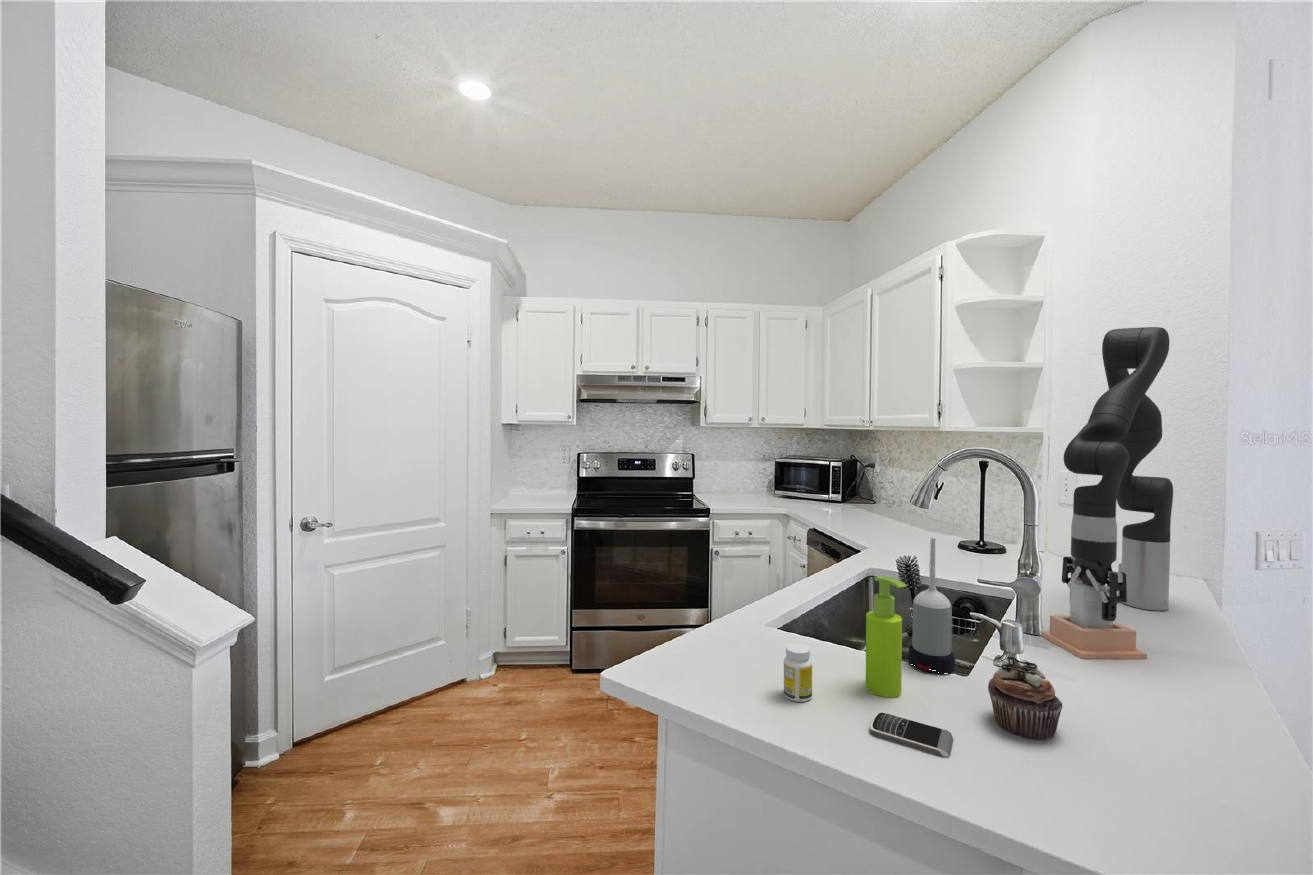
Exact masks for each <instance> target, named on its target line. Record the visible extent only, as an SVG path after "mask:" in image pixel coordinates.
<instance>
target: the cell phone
mask: <svg viewBox="0 0 1313 875" xmlns="http://www.w3.org/2000/svg"><path fill="white" fill-rule="evenodd" d="M869 727H870V734H872V736H875V737H877V738H879V739H884V740H887V741H891V742H894V743H897V744H900V745H904V746H907V747H910V748H912V749H913V748H914V749H917V750H921V751H923V752H926V753H930V754H934V755H936V756H940V757H944V758H948V757H951V755H952V754H951V753H952V749H953V745H954V737H953V735H952V732H950V731H949V730H947V729H943V728H940V727H936V726H934V725H929V724H926V723H922V722H918V721H915V720H911V719H908V718H904V717H901V716H897V715H894V714H889V713H885V712H877V713H876V714H875V715H874V716H873V718H872V719H871V721H870V724H869Z"/></svg>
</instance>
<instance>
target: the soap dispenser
mask: <svg viewBox="0 0 1313 875" xmlns="http://www.w3.org/2000/svg"><path fill="white" fill-rule="evenodd" d="M874 581H876V582H879V583H878V584H879V585H878V586H879V587H878V588H879V590H878V593H876V594H874V596H873V610H870V611H868V612H866V614H865V615H866V616H865V619H866V620H865V684H864V685H865V689H866V690H867V691H868V692H869V693H871V694H873V695H875V696H879V697H881V698H882V697H883V698H896V697H899V696H900V695H901V694H902V675H903V674H902V671H903V670H902V667H903V666H902V664H903V662H902V661H903V660H902V659H903V657H902V656H903V649H902V648H903V617H902V616H901V615H899V614H897V613H895V607H896V606H895V603H896V602H895V600H896V598H895V596H893V595H892V594H891V593H890V592H891V591H890V589H891V588H890V586H893V587H895V588H897V589H898V590H899V589H904V588H906V587H908V584H906V583H905V582H902V581H901V580H899V579H897V578H894V577H891V576H884V575H879V576H874Z"/></svg>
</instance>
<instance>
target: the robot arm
mask: <svg viewBox="0 0 1313 875" xmlns="http://www.w3.org/2000/svg"><path fill="white" fill-rule="evenodd" d="M1169 352H1170V335H1169V332H1168V331H1167V330H1166V329H1165V328H1164V327H1162V326H1161V327H1159V326H1158V327H1157V326H1147V327H1146V326H1145V327H1143V326H1141V327H1125V328H1123V327H1121V328H1114V329H1111V330H1108V331H1107V332H1106V333H1105V335H1104V337H1103V340H1102V344H1101V353H1102V361H1103V367H1104V372H1105V377H1106V381H1107V382H1106V383H1107V386H1108V390H1106V391H1105V392H1104V393H1103V394H1101V396H1100V397H1099V398H1098V399H1097V400H1096V401H1095V403H1094V405H1093V408H1092V411H1091V414H1090V415H1089V418H1088V420H1087V423H1086V424H1085V425H1084V426H1083V427H1082V428H1081V429H1080V430H1079V432H1078V433H1077V434H1076V435H1075V436H1074V437H1073V439H1071V441H1070V442H1069V443H1068V444H1067V446H1066V448H1065V450H1064V452H1063V458H1062V460H1063V463H1064V464H1063V465H1064V466H1065V468H1066V469H1067V470H1068V471H1069V472H1071V473H1073V474H1077V475H1087V476H1089V475H1090V476H1091V475H1092V476H1101V479H1100V481H1099V482H1098V483H1097V484H1093V485H1083V486H1082V485H1081V486H1078V487H1076V488H1074V491H1073V504H1072V505H1073V507H1072V508H1073V509H1072V512H1073V513H1072V519H1071V527H1070V528H1071V529H1070V555H1071V556H1063V558H1062V571H1061V582H1062V583H1063V584H1066V585H1067V587H1068V589H1070V583H1088V584H1089V585H1091V586H1093V587H1094V588H1095V590H1096V591H1097V592H1098V593H1099V594H1100V596H1101V598H1102V600H1103V602H1102V619H1103V620H1105V621H1114V622H1115V620H1116V619H1117V605H1118V604H1119V603H1120V604H1121V603H1122V604H1124V605H1126V606H1129V607H1134V608H1137V609H1141V610H1142V609H1143V610H1148V611H1159V612H1160V611H1161V612H1162V611H1163V612H1164V611H1168V610H1169V601H1170V569H1171V568H1170V564H1171V560H1170V559H1171V525H1172V524H1171V520H1172V510H1173V502H1174V486H1173V483H1172V481H1171V479H1170V478H1167V477H1163V476H1162V477H1160V476H1147V475H1146V476H1142V475H1141V476H1140V475H1134V474H1133V473H1134V471H1135V469H1136V468H1137V466H1139V464H1140V463H1141V462H1142V461H1143V459H1145V458H1147V456H1148V455H1149V454H1150V453H1151V452H1152V451H1153V450H1154V449H1155V448H1156V447H1157V446H1158V445H1159V443H1160V442H1161V440H1162V439H1163V420H1162V413H1161V410H1160V408H1159V407H1158V406H1157V404H1156V403H1155V402H1154V401H1153V400H1152V399H1151V398H1150V397H1149V396H1148V395H1147V394H1146V393H1147V392H1148V390H1149V389H1150V387H1151V386H1152V384H1153V382H1154V381H1155V379H1156V378H1157V376H1158V374H1159V373H1160V371H1161V369H1162V367H1163V366H1164V364H1165V362H1166V359H1167V358H1168V354H1169ZM1131 369H1134V370H1133V371H1132V372H1131V373H1130V371H1129V370H1131ZM1117 504H1118V505H1117ZM1117 506H1118V507H1119V508H1120V509H1121V510H1123V511H1129V512H1137V513H1146V514H1147V513H1148V514H1149V513H1150V514H1153V517H1152V518H1151V519H1148V520H1145V521H1143V522H1142V521H1141V522H1136V523H1130V524H1126V525H1124V526H1123V527H1122V532H1121V535H1122V538H1121V541H1122V543H1121V563H1119V564H1118V569H1117V570H1118V571H1114V570H1113V567H1112V564H1113V563H1115V562H1117V557H1118V556H1117V552H1118V550H1117V548H1118V524H1117ZM1069 574H1070V576H1069ZM1104 585H1105V586H1104ZM1106 592H1108V593H1109V595H1110V596H1107V594H1106Z"/></svg>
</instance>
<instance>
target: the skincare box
mask: <svg viewBox="0 0 1313 875" xmlns="http://www.w3.org/2000/svg"><path fill="white" fill-rule="evenodd" d="M1104 586H1106V585H1104ZM1106 594H1107V596H1110V595H1109V593H1108V592H1106ZM1102 602H1103V600H1102V598H1101V596H1100V594H1099V593H1098V592H1097V591H1096V590H1095V588H1094V587H1093V586H1091V585H1089V584H1088V583H1070V588H1069V607H1070V608H1069V611H1070V612H1069V613H1070V614H1069V616H1070V622H1071V623H1073V624H1075V625H1077V626H1079V627H1081V628H1083V629H1113V621H1105V620H1103V619H1102Z"/></svg>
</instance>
